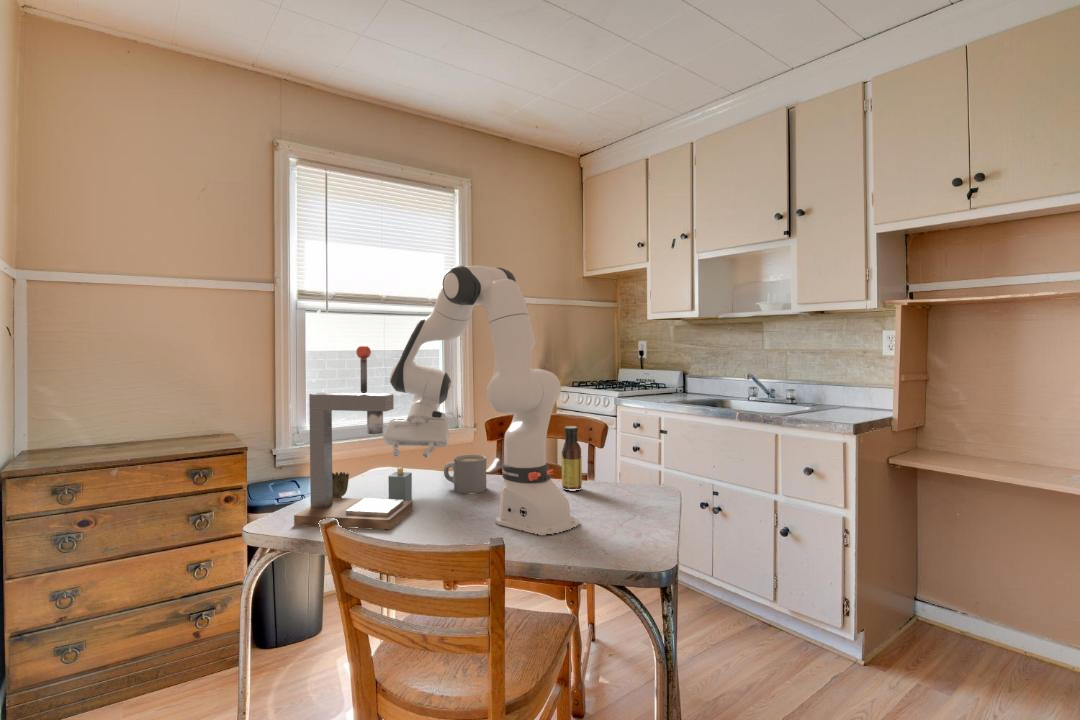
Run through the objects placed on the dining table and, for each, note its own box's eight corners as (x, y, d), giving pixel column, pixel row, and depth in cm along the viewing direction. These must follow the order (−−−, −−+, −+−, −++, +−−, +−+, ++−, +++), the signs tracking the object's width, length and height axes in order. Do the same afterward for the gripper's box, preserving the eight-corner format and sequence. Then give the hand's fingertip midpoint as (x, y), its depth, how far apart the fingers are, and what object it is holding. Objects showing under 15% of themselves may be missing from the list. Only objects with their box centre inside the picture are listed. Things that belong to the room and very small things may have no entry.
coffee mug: (491, 487, 177) (491, 455, 176) (476, 495, 167) (476, 462, 167) (455, 482, 182) (455, 452, 181) (438, 490, 172) (438, 458, 172)
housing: (411, 499, 163) (411, 466, 162) (405, 504, 158) (405, 470, 157) (395, 499, 163) (395, 465, 163) (388, 504, 158) (388, 470, 158)
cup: (340, 506, 155) (339, 478, 155) (316, 505, 157) (316, 477, 157) (354, 499, 163) (354, 472, 162) (331, 497, 164) (331, 470, 164)
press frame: (403, 503, 150) (402, 345, 149) (387, 516, 139) (386, 345, 138) (325, 500, 153) (323, 344, 152) (303, 512, 142) (301, 345, 141)
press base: (412, 510, 153) (412, 501, 153) (389, 530, 137) (389, 520, 137) (326, 506, 156) (326, 497, 156) (294, 525, 140) (294, 515, 140)
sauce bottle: (571, 486, 178) (571, 424, 178) (585, 489, 174) (586, 426, 173) (557, 489, 174) (557, 426, 173) (571, 493, 169) (572, 429, 169)
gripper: (387, 412, 176) (374, 449, 167) (450, 413, 174) (440, 451, 164) (393, 424, 181) (380, 460, 172) (454, 425, 178) (445, 462, 169)
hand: (410, 456), depth 168 cm, fingers open, 8 cm apart
